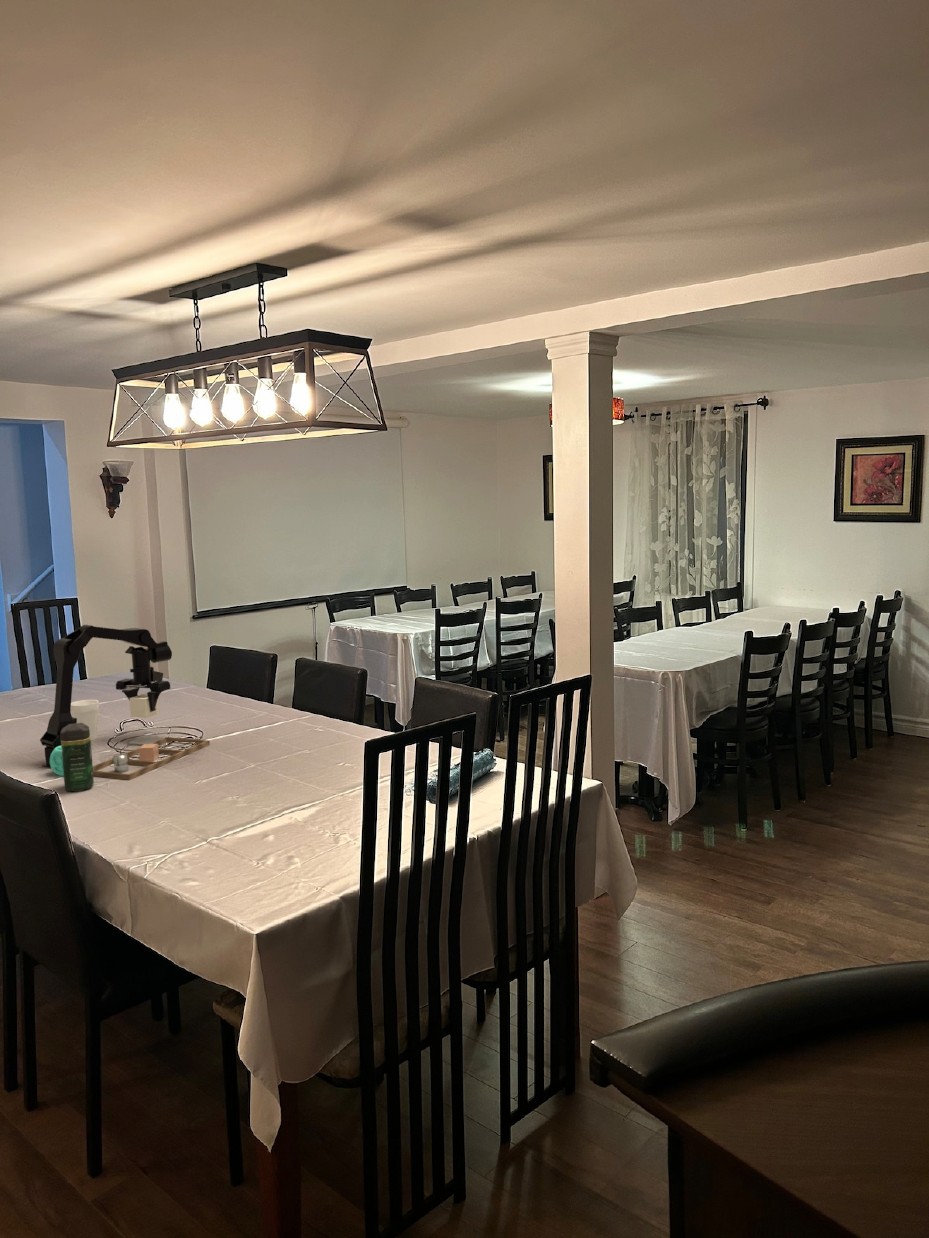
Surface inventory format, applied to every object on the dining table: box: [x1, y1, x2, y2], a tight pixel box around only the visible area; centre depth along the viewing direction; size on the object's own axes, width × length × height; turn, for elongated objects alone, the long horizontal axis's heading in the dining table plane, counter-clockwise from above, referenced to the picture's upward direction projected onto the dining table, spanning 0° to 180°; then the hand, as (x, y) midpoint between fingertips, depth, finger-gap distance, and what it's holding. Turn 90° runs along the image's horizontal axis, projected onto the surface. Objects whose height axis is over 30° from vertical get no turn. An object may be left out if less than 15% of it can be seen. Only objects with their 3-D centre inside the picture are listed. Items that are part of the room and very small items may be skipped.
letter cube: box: [129, 693, 160, 719], centre depth 308 cm, size 6×7×7 cm
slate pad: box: [126, 735, 164, 747], centre depth 310 cm, size 9×9×1 cm
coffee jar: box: [60, 723, 94, 792], centre depth 261 cm, size 10×8×19 cm
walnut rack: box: [93, 736, 211, 781], centre depth 289 cm, size 39×18×2 cm, turn 160°
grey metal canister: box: [112, 752, 129, 774], centre depth 277 cm, size 4×4×5 cm
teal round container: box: [50, 746, 64, 777], centre depth 277 cm, size 8×8×8 cm
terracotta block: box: [138, 744, 160, 762], centre depth 289 cm, size 4×4×4 cm
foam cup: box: [70, 699, 100, 741], centre depth 316 cm, size 10×9×13 cm
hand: (144, 709), depth 308 cm, fingers closed on letter cube, 7 cm apart
